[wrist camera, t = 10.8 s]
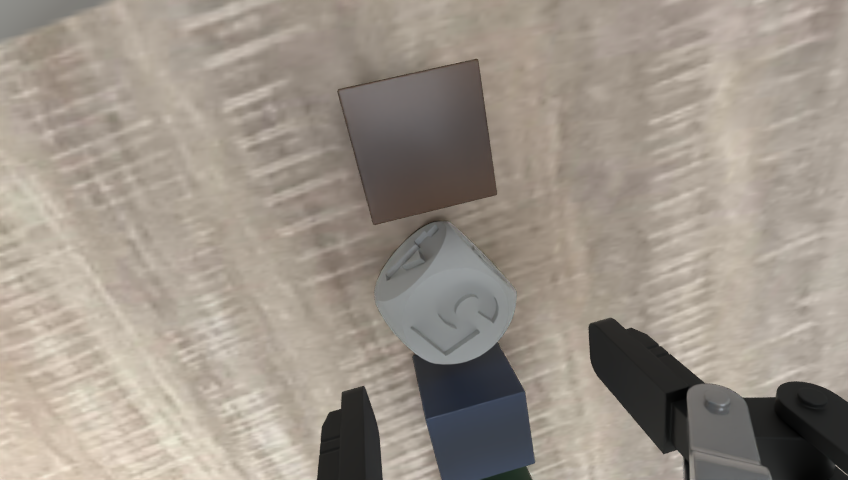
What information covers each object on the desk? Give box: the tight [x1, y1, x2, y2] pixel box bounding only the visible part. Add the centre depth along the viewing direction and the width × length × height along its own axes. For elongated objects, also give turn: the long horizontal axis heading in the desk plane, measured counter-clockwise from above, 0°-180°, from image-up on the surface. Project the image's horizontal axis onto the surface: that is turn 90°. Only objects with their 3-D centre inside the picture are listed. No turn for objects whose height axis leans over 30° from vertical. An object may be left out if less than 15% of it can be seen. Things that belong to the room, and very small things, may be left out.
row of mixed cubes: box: [337, 59, 535, 480], centre depth 21 cm, size 28×5×5 cm, turn 12°
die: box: [374, 221, 517, 364], centre depth 20 cm, size 5×5×5 cm
